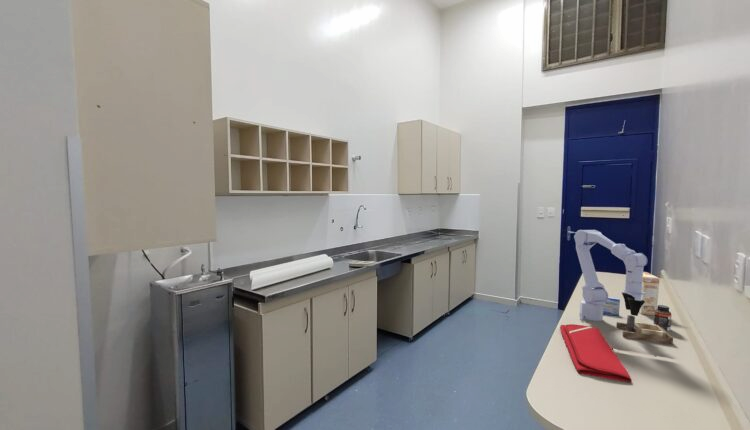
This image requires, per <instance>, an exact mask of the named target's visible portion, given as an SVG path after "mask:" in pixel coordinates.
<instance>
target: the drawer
mask: <svg viewBox="0 0 750 430" xmlns="http://www.w3.org/2000/svg"><path fill="white" fill-rule="evenodd" d="M626 316H627V317H626V323H627V328H626V329H625V331H628V332H635V333H641V334H648V335H654V336H661V337H666V332H665V331H664V330H663V329H662V328H661V327H659V326H658V325H654V323H646V322H639V321H636V317H635V315H631V314H630V315H626Z"/></svg>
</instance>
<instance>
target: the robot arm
mask: <svg viewBox="0 0 750 430" xmlns="http://www.w3.org/2000/svg"><path fill="white" fill-rule="evenodd" d="M573 239H574V242H575V251H576V253H577V257H578V261H579V264H580V265H579V266H580V268H581V272H582V277H583V278H584V282H585V283H584V285H582V287H581V288H582V293H581V294H582V298H583V300H580V305H579V315H578V316H579V318H580V321H581V322H584V320H590V321H594V322H602V321H604V320H603V318H604V314H603V307H604V303H605V301H606V300H607V299H608V297H609V294H608V293H609V292H608V291H607V290H606V288H605V286H604V284H602V282H600V281H599V279H598V275H597V273H596V272H597V271H596V269H595V265H594V262H593V258H592V254H591V251H590V250H591V248H592V247H593V246H595V245H596V244H597V243H598V244H600V245H601V246H603V247H605V248H607V249H608V250H610V252H611V254H612V255H614V256H615V257H617V258H618V259H619V260H621V261H623V263H624V266H625V285H624V289H623V291H624V292H621V295H622V297H623V299H624V306H625V310H626V311H628V310H629V311H630V312H629V313H630V315H631V316H634V317H635V316H636V317H637V316H638V315H639V314H640V313H639V311H640V308H641V306H642V305H643V304H644V303H645V301H644V300H641V295H645V293H644V292H642V281H643V272H644V267H645V266H647V265H648V257H647V256H646V255H645V254H644V253H643V252H638V253H637V252H636V251H635V250H634V249H631V248H629V247H627V246H626V244H625V243H616V242H614V241H613V240H612V239H609V238H608V237H606V236H605V235H603V234H602V232H601V231H599V230H596V229H578V230H577V231H576V232H575V234H574V235H573Z"/></svg>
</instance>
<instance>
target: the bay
mask: <svg viewBox="0 0 750 430" xmlns="http://www.w3.org/2000/svg"><path fill="white" fill-rule="evenodd" d="M615 324H616V326H615V327H616V328H617V329H623V330H622V337H623V338H628V339H633V340H640V341H647V342H651V343H653V342H654V343H657V344H658V343H659V344H665V345H672V346H673V345H674V337H673V336H672V335H671V334H670V333H669V331H666V330H665V329H664V328H662V327H661V328H662V329H663V330H664V331H665V332H666V337H661V336H654V335H648V334H641V333H635V332H628V331H626V328H627V322H619V321H617V322H616V323H615Z"/></svg>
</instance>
